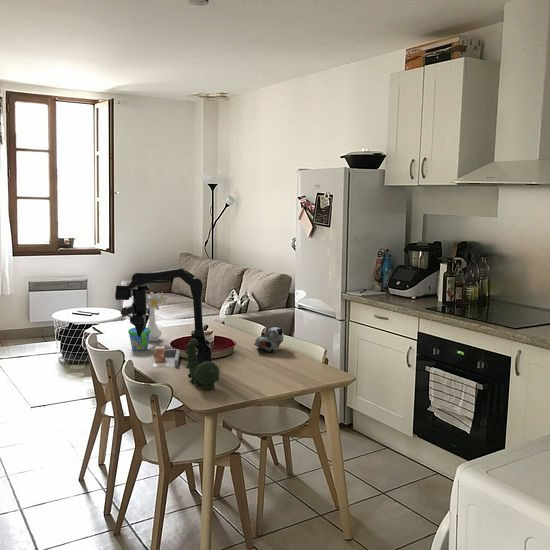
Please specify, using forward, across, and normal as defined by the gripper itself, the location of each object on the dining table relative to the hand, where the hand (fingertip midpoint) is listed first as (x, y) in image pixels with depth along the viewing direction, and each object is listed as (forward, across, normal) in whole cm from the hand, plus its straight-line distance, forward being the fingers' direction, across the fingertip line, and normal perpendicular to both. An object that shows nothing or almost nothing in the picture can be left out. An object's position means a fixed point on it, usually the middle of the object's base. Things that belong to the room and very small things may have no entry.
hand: (141, 333), depth 276 cm
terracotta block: (+14, -5, +7) cm, 17 cm away
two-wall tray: (+14, -4, +10) cm, 18 cm away
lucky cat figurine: (+15, -22, +58) cm, 64 cm away
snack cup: (+15, -26, -5) cm, 30 cm away
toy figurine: (+15, +28, +29) cm, 43 cm away
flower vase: (+15, -43, -2) cm, 45 cm away
